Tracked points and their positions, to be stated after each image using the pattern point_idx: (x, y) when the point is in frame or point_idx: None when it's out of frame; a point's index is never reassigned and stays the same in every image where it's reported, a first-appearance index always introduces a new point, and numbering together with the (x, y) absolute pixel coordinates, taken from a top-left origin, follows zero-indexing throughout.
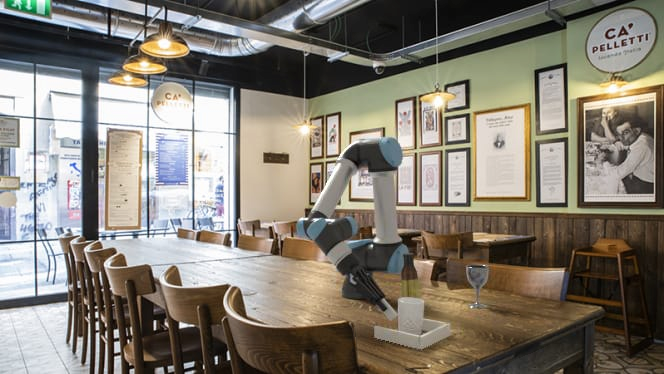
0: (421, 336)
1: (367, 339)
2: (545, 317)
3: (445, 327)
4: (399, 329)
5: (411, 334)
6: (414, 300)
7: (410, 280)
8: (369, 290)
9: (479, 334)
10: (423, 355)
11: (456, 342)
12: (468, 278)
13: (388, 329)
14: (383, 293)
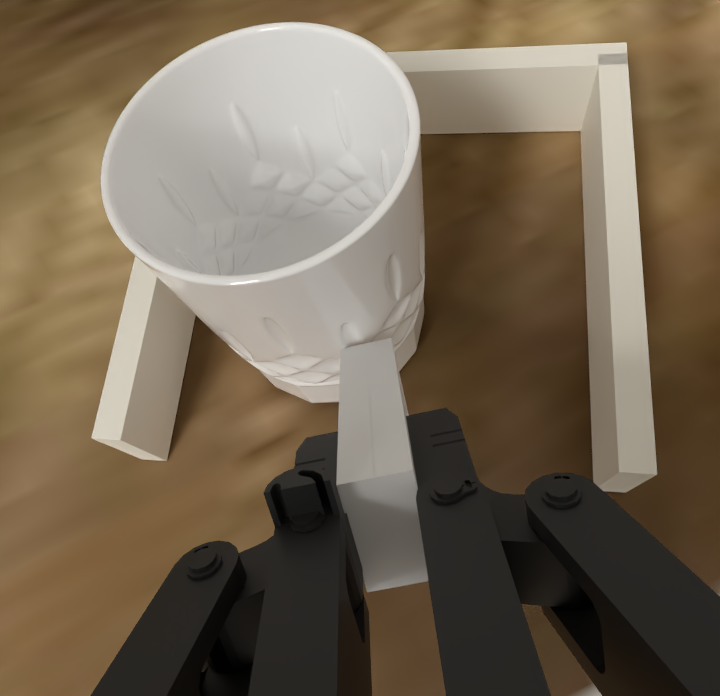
0: (606, 52)
1: (688, 533)
2: None
3: None
4: (401, 355)
5: (618, 118)
6: (126, 192)
7: None
8: (670, 628)
9: (109, 24)
10: (675, 68)
11: None
12: None
13: (639, 315)
14: (202, 555)
